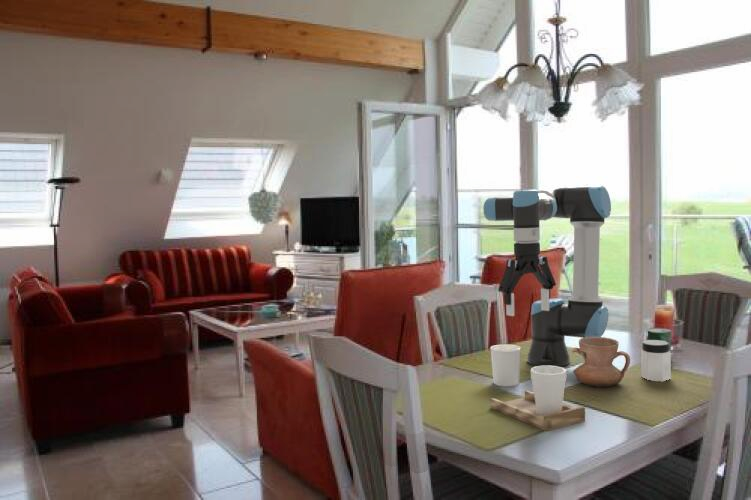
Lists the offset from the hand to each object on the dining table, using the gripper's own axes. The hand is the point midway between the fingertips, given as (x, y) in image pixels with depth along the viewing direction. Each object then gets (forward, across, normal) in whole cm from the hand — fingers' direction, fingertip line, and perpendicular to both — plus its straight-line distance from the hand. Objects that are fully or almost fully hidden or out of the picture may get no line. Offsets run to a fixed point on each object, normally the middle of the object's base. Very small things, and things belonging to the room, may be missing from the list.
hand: (528, 312), depth 193 cm
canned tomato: (+27, +70, +9) cm, 76 cm away
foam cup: (+26, -7, -16) cm, 31 cm away
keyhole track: (+27, -7, -10) cm, 30 cm away
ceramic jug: (+27, +30, 0) cm, 40 cm away
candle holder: (+27, +6, +18) cm, 33 cm away
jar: (+27, +49, -6) cm, 56 cm away
